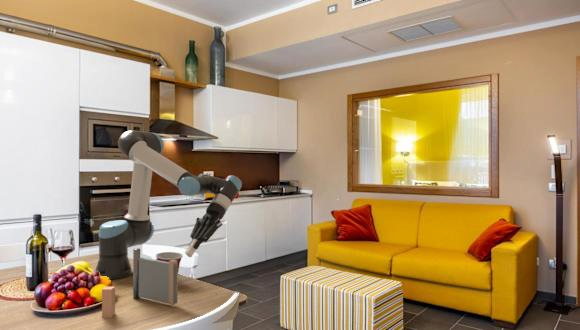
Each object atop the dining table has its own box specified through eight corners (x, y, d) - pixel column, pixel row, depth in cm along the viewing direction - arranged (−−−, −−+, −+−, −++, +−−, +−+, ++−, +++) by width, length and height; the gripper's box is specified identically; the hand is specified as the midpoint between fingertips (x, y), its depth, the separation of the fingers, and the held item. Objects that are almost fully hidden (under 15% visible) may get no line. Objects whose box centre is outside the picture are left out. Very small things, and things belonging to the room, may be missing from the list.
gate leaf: (138, 296, 146) (138, 255, 145) (142, 295, 147) (143, 254, 147) (172, 305, 137) (172, 261, 137) (177, 303, 139) (177, 260, 139)
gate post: (132, 297, 148) (132, 248, 148) (139, 296, 149) (139, 248, 149) (133, 299, 146) (133, 250, 146) (140, 298, 147) (140, 249, 147)
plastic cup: (175, 288, 159) (175, 258, 159) (150, 286, 161) (150, 256, 161) (187, 280, 170) (187, 252, 170) (164, 278, 172) (164, 250, 172)
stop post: (105, 313, 132) (106, 286, 132) (115, 313, 132) (115, 286, 132) (101, 317, 129) (102, 289, 129) (111, 317, 129) (111, 289, 129)
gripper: (234, 214, 165) (205, 262, 151) (211, 211, 172) (181, 258, 158) (225, 202, 160) (194, 251, 146) (202, 200, 167) (170, 247, 154)
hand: (188, 255), depth 152 cm, fingers closed
